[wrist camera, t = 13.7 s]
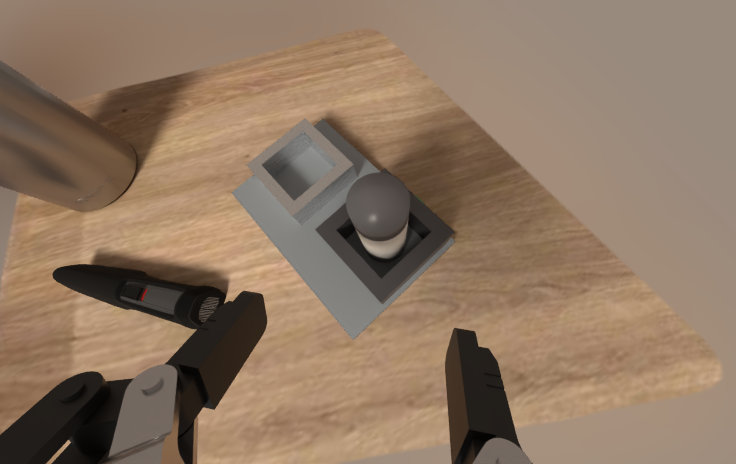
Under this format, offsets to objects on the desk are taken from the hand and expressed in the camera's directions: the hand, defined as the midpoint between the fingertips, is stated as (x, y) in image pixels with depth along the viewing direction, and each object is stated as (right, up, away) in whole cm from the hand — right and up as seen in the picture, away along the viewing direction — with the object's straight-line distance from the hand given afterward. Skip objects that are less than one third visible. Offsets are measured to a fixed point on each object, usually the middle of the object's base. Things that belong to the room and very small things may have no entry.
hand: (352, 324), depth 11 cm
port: (+2, +3, +13) cm, 14 cm away
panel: (-2, +5, +15) cm, 16 cm away
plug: (+2, +3, +13) cm, 14 cm away
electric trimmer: (-20, -2, +15) cm, 25 cm away
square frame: (-5, +9, +16) cm, 19 cm away
